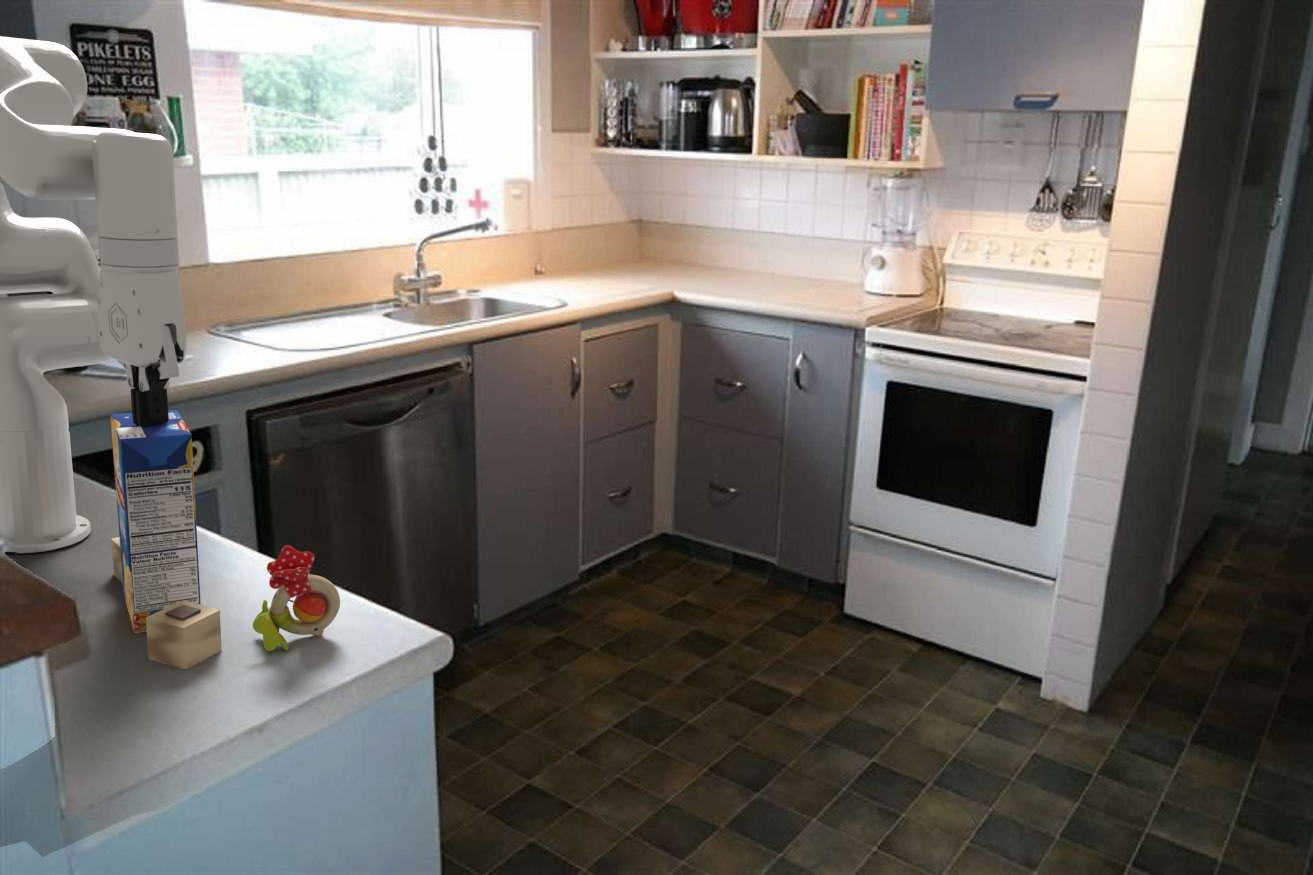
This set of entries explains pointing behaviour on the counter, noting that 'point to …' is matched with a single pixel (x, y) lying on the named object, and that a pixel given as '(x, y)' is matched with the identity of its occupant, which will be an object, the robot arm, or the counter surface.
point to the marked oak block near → (183, 634)
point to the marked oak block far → (117, 558)
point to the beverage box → (155, 515)
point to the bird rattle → (296, 600)
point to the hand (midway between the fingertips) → (151, 423)
